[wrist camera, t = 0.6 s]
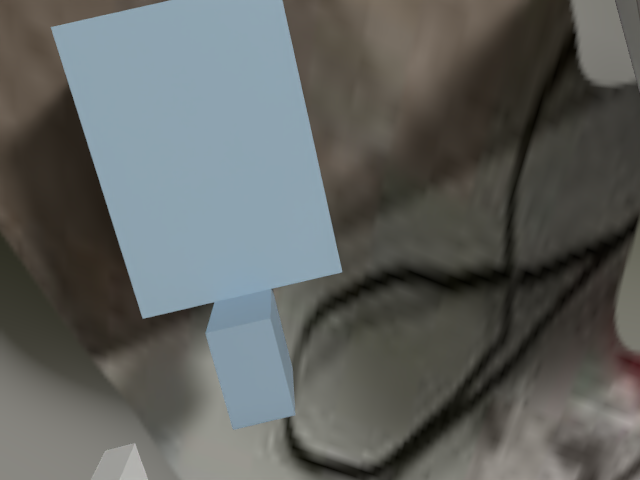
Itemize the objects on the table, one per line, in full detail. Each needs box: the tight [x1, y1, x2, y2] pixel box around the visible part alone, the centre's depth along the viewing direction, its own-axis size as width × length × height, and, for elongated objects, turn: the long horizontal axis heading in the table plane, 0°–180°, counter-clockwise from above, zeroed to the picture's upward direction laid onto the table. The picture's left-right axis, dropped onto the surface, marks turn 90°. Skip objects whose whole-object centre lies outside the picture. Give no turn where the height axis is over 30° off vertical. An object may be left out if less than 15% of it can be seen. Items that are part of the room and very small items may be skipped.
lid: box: [51, 0, 342, 430], centre depth 29 cm, size 20×11×6 cm, turn 12°
